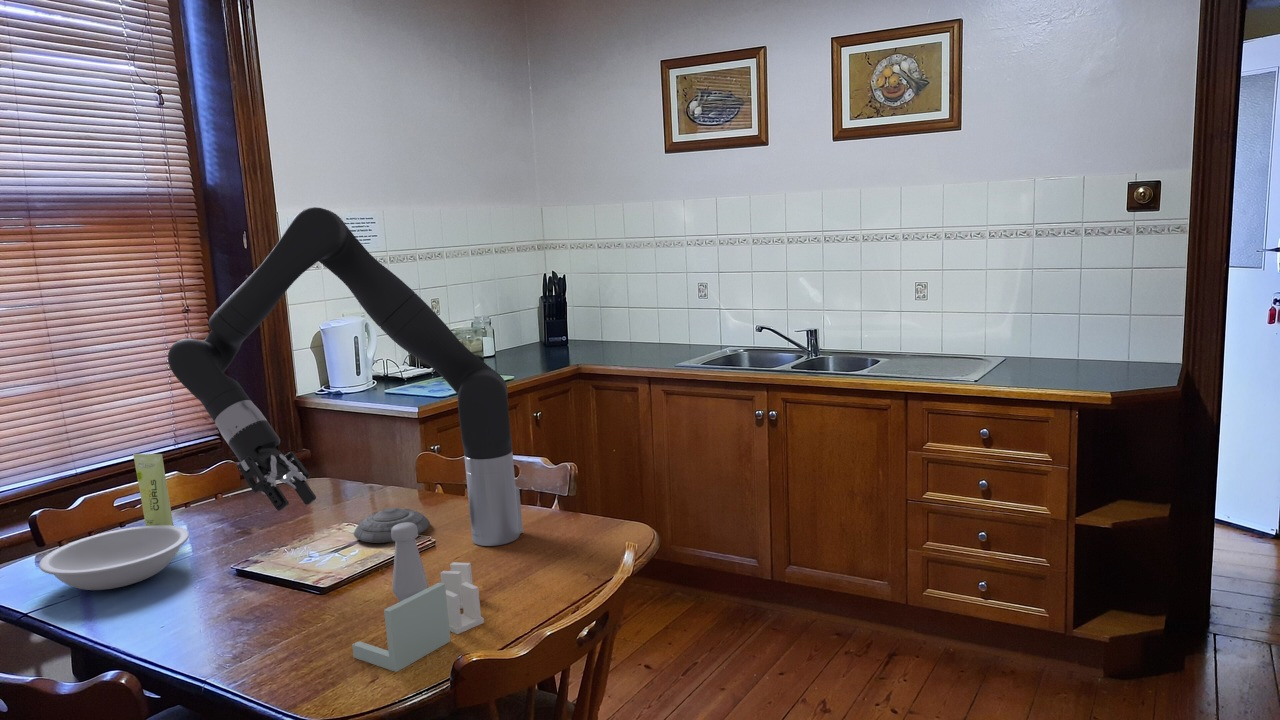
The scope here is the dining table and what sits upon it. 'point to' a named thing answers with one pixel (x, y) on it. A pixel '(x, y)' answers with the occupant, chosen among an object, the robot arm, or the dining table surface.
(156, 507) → the tube
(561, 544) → the dining table surface
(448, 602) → the clip
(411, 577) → the salt shaker
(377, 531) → the flying saucer
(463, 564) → the clip
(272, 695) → the dining table surface
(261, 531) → the dining table surface
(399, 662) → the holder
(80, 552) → the soup bowl
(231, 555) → the dining table surface
